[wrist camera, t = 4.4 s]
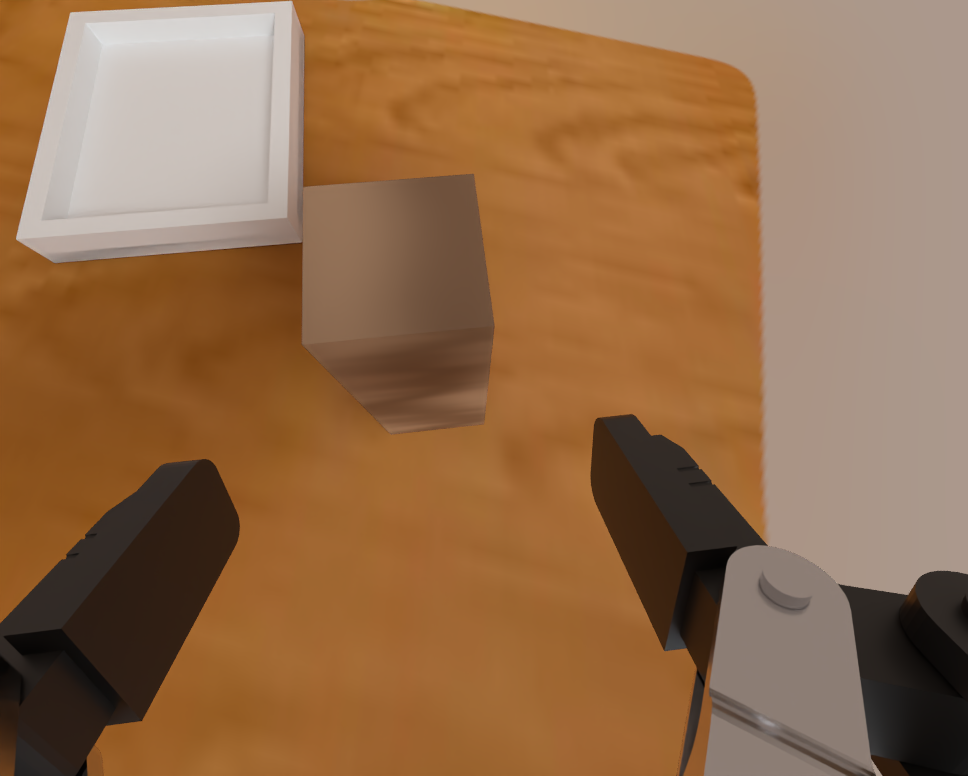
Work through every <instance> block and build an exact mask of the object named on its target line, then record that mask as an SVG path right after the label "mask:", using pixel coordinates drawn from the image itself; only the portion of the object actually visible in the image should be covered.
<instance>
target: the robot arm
mask: <svg viewBox="0 0 968 776" xmlns="http://www.w3.org/2000/svg"><path fill="white" fill-rule="evenodd" d="M591 487H592V492H593V496H594V500H595V502H596V505H597V507H598V509H599V511H600V513H601V516H602V518H603V520H604V522H605V524H606V526H607V528H608V531H609V533H610V535H611V537H612V539H613V541H614V544H615V546H616V548H617V550H618V552H619V554H620V556H621V559H622V561H623V563H624V565H625V567H626V569H627V572H628V574H629V576H630V578H631V580H632V582H633V584H634V587H635V589H636V591H637V593H638V595H639V597H640V600H641V602H642V604H643V606H644V608H645V610H646V612H647V615H648V617H649V619H650V621H651V623H652V625H653V628H654V630H655V632H656V634H657V636H658V638H659V640H660V643H661V645H662V647H663V649H664V651H669V650H677V649H684V648H687V649H688V651H689V653H690V655H691V657H692V659H693V661H694V663H695V665H696V669H695V673H694V677H693V682H692V688H691V694H690V700H689V705H688V711H687V717H686V722H685V728H684V734H683V739H682V745H681V751H680V757H679V762H678V768H677V774H676V776H876V775H875V772H874V769H873V766H872V762H871V759H872V761H873V762H874V764H875V765H876V766H877V768H878V770H879V771H880V773H881V774H882V776H968V574H963V573H959V572H951V571H934V572H929V573H927V574H924V575H922V576H921V577H920V578H919V579H918V580H917V582H916V584H915V585H914V587H913V588H912V590H911V591H910V593H909V595H904V594H897V593H890V592H884V591H877V590H871V589H864V588H858V587H851V586H845V585H840V584H837V583H836V582H835V581H834V580H833V579H832V578H831V577H830V576H829V575H828V574H827V573H826V572H825V571H823V570H822V569H821V568H819V567H818V566H816V565H815V564H814V563H812V562H810V561H808V560H807V559H805V558H803V557H801V556H799V555H797V554H795V553H792V552H789V551H787V550H783V549H780V548H776V547H770V546H768V545H767V544H766V543H765V542H764V541H763V540H762V539H761V538H760V536H759V535H758V534H757V533H756V532H755V531H754V529H753V528H752V527H751V526H750V525H749V524H748V522H747V521H746V520H745V519H744V518H743V517H742V516H741V514H740V513H739V512H738V511H737V510H736V509H735V507H734V506H733V505H732V504H731V503H730V502H729V501H728V499H727V498H726V497H725V496H724V495H723V494H722V492H721V491H720V490H719V489H718V488H717V487H716V485H715V484H714V485H712V483H711V480H710V479H709V477H708V476H707V475H706V474H705V473H704V472H703V470H702V469H700V470H699V468H698V465H697V463H696V462H695V461H694V460H693V459H692V458H691V457H690V455H689V454H688V453H687V452H686V451H685V450H684V448H682V447H680V446H679V445H677V444H675V443H674V442H672V441H671V440H669V439H667V438H666V437H664V436H662V435H654V436H651V435H650V434H649V433H648V431H647V430H646V429H645V428H644V426H643V425H642V424H641V422H640V421H639V420H638V419H637V417H636V416H634V415H632V414H629V415H620V416H611V417H602V418H597V419H596V421H595V424H594V432H593V447H592V462H591ZM239 529H240V524H239V517H238V514H237V512H236V509H235V507H234V505H233V503H232V501H231V499H230V496H229V494H228V492H227V490H226V488H225V485H224V483H223V481H222V479H221V477H220V475H219V472H218V470H217V468H216V466H215V465H214V464H213V463H212V462H211V461H210V460H207V459H202V460H192V461H183V462H174V463H166V464H163V465H162V466H160V467H159V468H158V469H157V470H156V471H155V472H154V473H153V474H152V475H151V476H150V477H149V479H148V480H147V481H146V482H145V483H144V484H143V485H142V486H141V487H140V488H139V489H138V490H137V492H135V493H134V494H132V495H131V496H129V497H128V498H126V499H125V500H124V501H122V502H121V503H119V504H118V505H116V506H115V507H114V508H112V509H111V510H109V511H108V512H107V513H106V514H105V515H104V516H103V517H102V518H101V519H100V520H99V521H98V522H97V523H96V524H95V525H94V526H93V527H92V528H91V529H90V530H89V531H88V532H87V533H86V534H85V536H86V537H85V539H81V540H80V541H79V542H78V543H77V544H76V545H75V546H74V547H73V548H72V549H71V550H70V551H69V552H68V553H67V554H66V555H67V558H66V559H64V560H61V561H60V562H59V563H58V564H57V565H56V566H55V567H54V568H53V569H52V570H51V571H50V572H49V573H48V574H47V575H46V576H45V577H44V578H43V579H42V580H41V581H40V583H39V584H38V585H37V586H36V587H35V588H34V589H33V590H32V591H31V592H30V593H29V594H28V595H27V596H26V597H25V598H24V599H23V600H22V601H21V602H20V603H19V604H18V605H17V607H16V608H15V609H14V610H13V611H12V612H11V613H10V614H9V615H8V616H7V617H6V618H5V619H4V620H3V621H2V622H1V623H0V776H104V773H103V760H102V755H101V752H100V750H99V749H98V748H97V747H96V746H95V745H94V744H95V743H96V741H97V739H98V738H99V736H100V734H101V733H102V731H103V729H104V728H105V726H108V725H115V724H122V723H129V722H137V721H142V720H143V718H144V716H145V714H146V712H147V710H148V708H149V707H150V705H151V703H152V701H153V699H154V697H155V695H156V693H157V692H158V690H159V688H160V686H161V684H162V682H163V680H164V678H165V677H166V675H167V673H168V671H169V669H170V667H171V665H172V664H173V662H174V660H175V658H176V656H177V654H178V652H179V650H180V649H181V647H182V645H183V643H184V641H185V639H186V637H187V636H188V634H189V632H190V630H191V628H192V626H193V624H194V622H195V621H196V619H197V617H198V615H199V613H200V611H201V609H202V607H203V606H204V604H205V602H206V600H207V598H208V596H209V594H210V593H211V591H212V589H213V587H214V585H215V583H216V581H217V579H218V578H219V576H220V574H221V572H222V570H223V568H224V566H225V564H226V563H227V561H228V559H229V557H230V555H231V553H232V551H233V550H234V548H235V546H236V543H237V541H238V537H239Z"/></svg>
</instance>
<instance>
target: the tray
mask: <svg viewBox="0 0 968 776" xmlns="http://www.w3.org/2000/svg"><path fill="white" fill-rule="evenodd" d="M303 134H304V34H303V31H302V28H301V25H300V22H299V20H298V17H297V14H296V11H295V8H294V5H293V2H292V1H283V2H263V3H244V4H225V5H205V6H186V7H166V8H147V9H128V10H108V11H89V12H71V13H70V17H69V21H68V25H67V29H66V33H65V37H64V42H63V46H62V50H61V54H60V58H59V62H58V67H57V71H56V75H55V79H54V83H53V87H52V91H51V96H50V100H49V104H48V108H47V112H46V116H45V120H44V125H43V129H42V133H41V137H40V141H39V145H38V150H37V154H36V158H35V162H34V166H33V170H32V174H31V179H30V183H29V187H28V191H27V195H26V199H25V203H24V208H23V212H22V216H21V220H20V224H19V228H18V233H17V237H16V240H18V241H19V242H21V243H23V244H24V245H26V246H27V247H29V248H31V249H32V250H34V251H36V252H37V253H39V254H41V255H42V256H44V257H46V258H47V259H49V260H50V261H52V262H54V263H61V262H73V261H85V260H97V259H109V258H121V257H133V256H145V255H157V254H169V253H181V252H193V251H205V250H217V249H229V248H241V247H253V246H265V245H277V244H289V243H301V242H302V240H303Z"/></svg>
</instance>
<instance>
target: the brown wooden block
mask: <svg viewBox="0 0 968 776" xmlns="http://www.w3.org/2000/svg"><path fill="white" fill-rule="evenodd" d="M493 335H494V319H493V312H492V305H491V297H490V290H489V282H488V275H487V268H486V260H485V253H484V246H483V238H482V231H481V224H480V216H479V209H478V202H477V194H476V187H475V180H474V174H466V175H453V176H440V177H427V178H414V179H401V180H388V181H375V182H361V183H348V184H335V185H322V186H309V187H303V272H302V345H303V346H304V347H305V348H306V349H307V350H308V351H309V352H310V353H311V354H312V355H313V356H314V358H315V359H316V360H317V361H318V362H319V363H320V364H321V365H322V366H323V367H324V368H325V369H326V370H327V371H328V372H329V373H330V374H331V375H332V376H333V377H334V378H335V379H336V380H337V381H338V382H339V383H340V384H341V385H342V386H343V387H344V388H345V389H346V390H347V391H348V392H349V393H350V394H351V395H352V396H353V397H354V398H355V399H356V400H357V401H358V402H359V403H360V404H361V405H362V406H363V407H364V408H365V409H366V410H367V411H368V412H369V413H370V414H371V415H372V416H373V417H374V418H375V419H376V420H377V421H378V422H379V423H380V424H381V425H382V426H383V427H384V428H385V429H386V430H387V431H388V432H389V433H390V434H400V433H409V432H418V431H427V430H436V429H445V428H454V427H463V426H472V425H481V424H484V419H485V409H486V400H487V391H488V381H489V372H490V363H491V353H492V344H493Z"/></svg>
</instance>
